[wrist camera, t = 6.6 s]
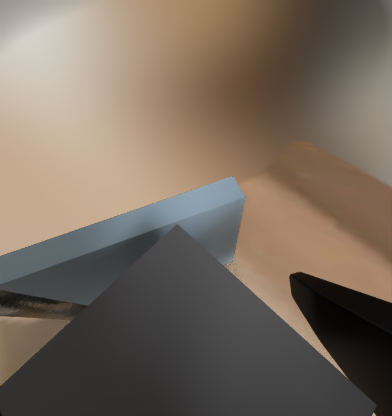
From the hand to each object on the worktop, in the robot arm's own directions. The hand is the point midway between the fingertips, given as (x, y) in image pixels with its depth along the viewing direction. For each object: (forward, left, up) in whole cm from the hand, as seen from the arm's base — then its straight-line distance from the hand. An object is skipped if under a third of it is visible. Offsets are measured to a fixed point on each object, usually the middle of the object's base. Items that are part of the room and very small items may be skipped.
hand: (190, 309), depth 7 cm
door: (+4, +1, -7) cm, 9 cm away
